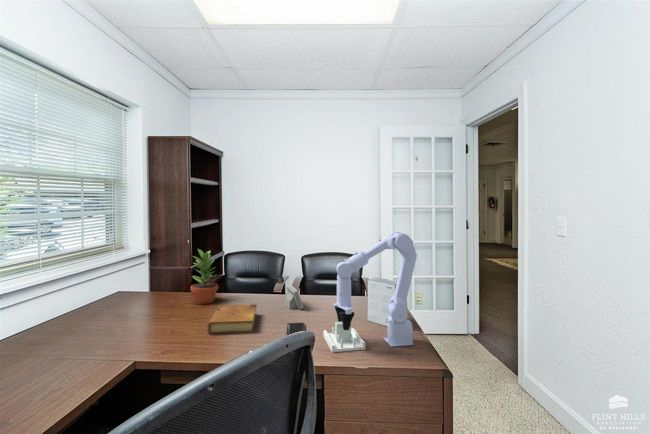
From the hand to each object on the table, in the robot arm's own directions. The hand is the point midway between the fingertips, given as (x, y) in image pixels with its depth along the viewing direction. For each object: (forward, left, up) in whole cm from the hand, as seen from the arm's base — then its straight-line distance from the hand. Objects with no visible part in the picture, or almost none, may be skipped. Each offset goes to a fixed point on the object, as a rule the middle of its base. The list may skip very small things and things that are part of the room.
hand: (343, 326), depth 132 cm
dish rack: (0, 0, -7) cm, 7 cm away
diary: (+44, -30, -7) cm, 54 cm away
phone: (+17, -16, -7) cm, 24 cm away
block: (0, 0, -6) cm, 6 cm away
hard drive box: (-25, -18, -7) cm, 31 cm away
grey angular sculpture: (+14, -51, -7) cm, 53 cm away
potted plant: (+62, -69, -7) cm, 93 cm away
